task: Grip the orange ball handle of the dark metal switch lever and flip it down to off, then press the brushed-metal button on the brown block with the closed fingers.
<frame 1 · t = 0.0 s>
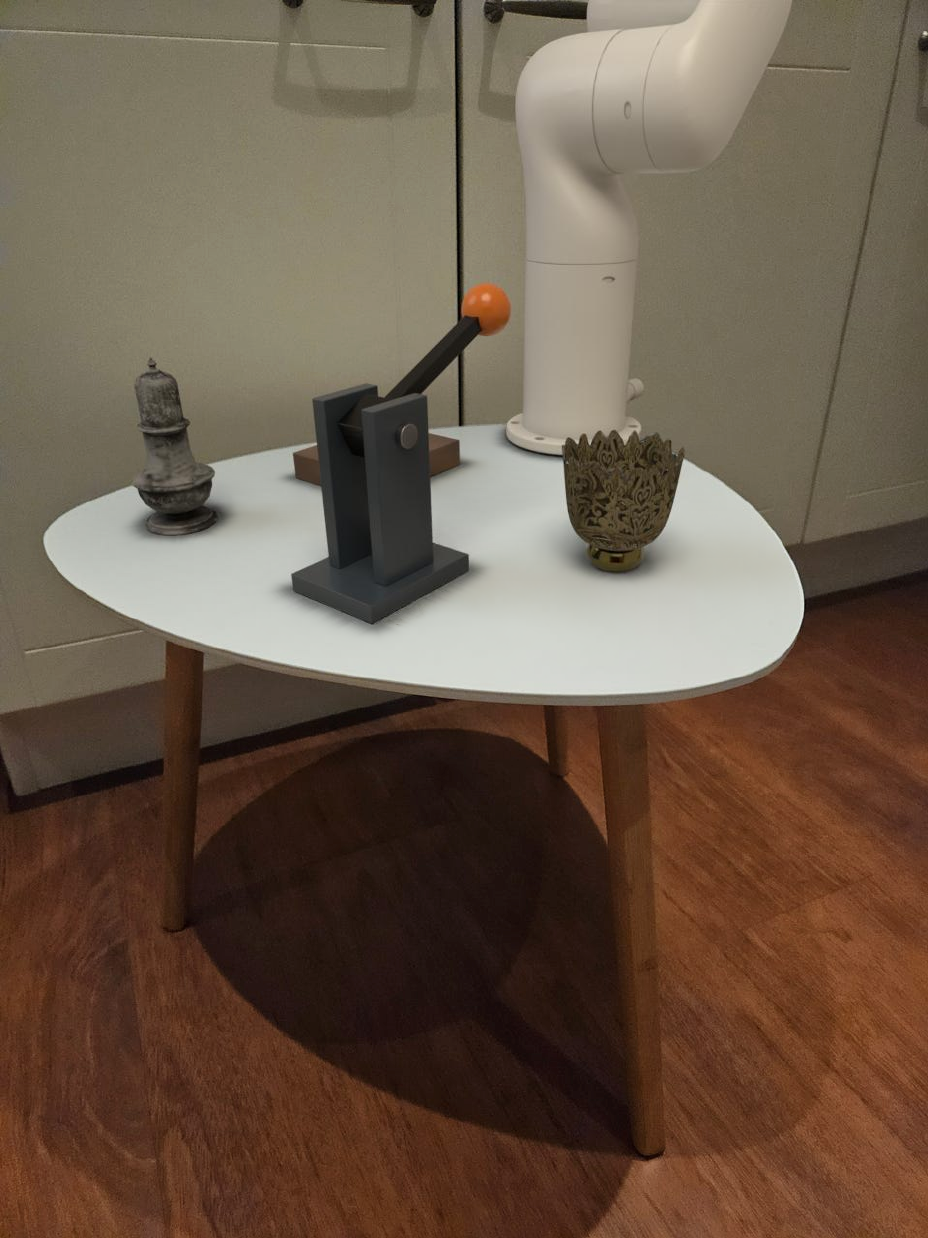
switch bracket: (382, 580, 55), on the table
switch lever: (432, 364, 52), point 13 cm above the table, hinge at 25.0°
cup: (614, 566, 56), on the table
start button: (358, 424, 70), point 5 cm above the table, slide at 0.2 cm
brown block: (379, 471, 73), on the table
salt shaker: (182, 523, 64), on the table
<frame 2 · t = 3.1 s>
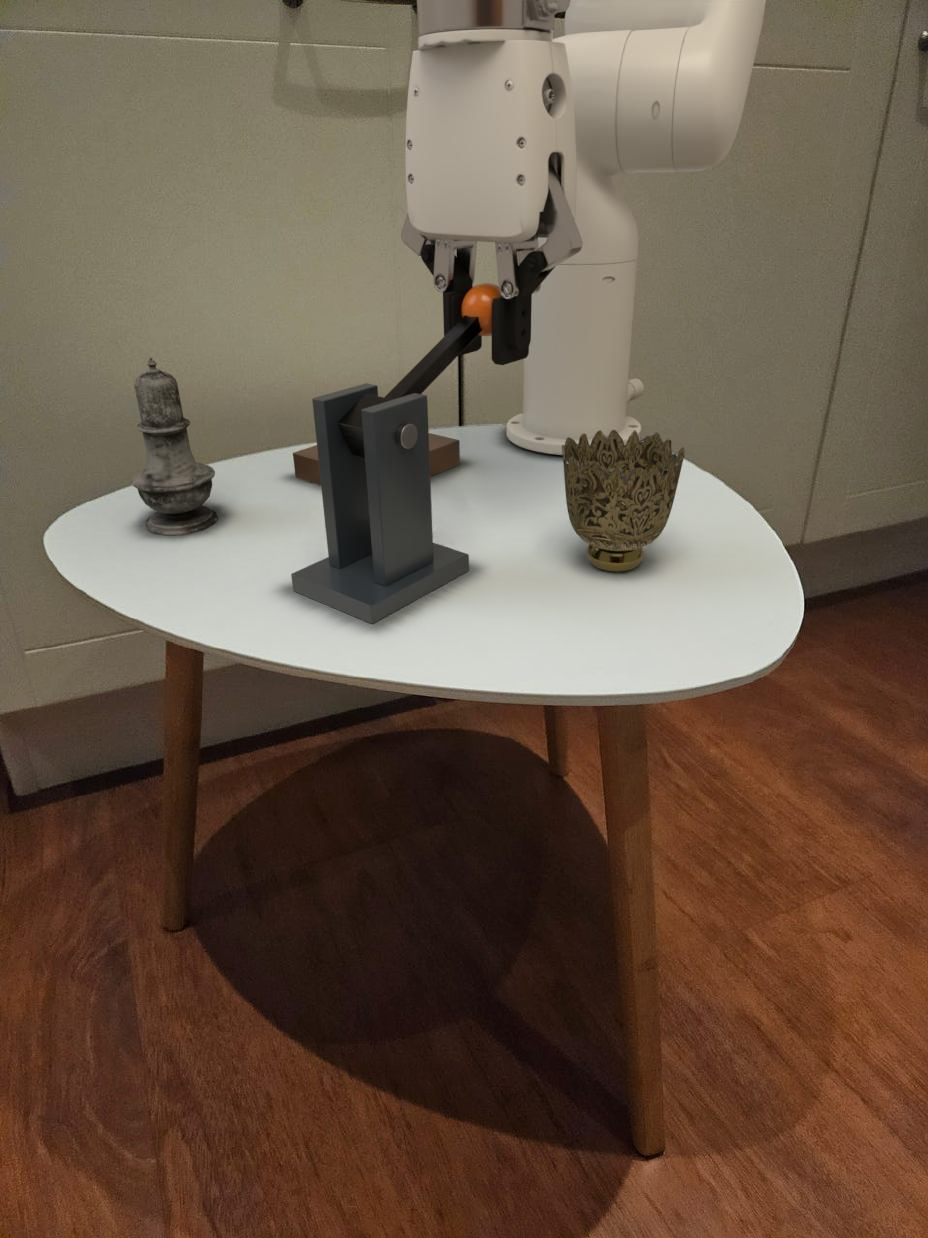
hand: (486, 354, 56), 12 cm above the table, tool pointing down, fingers closed on switch lever, 3 cm apart
switch lever: (432, 364, 52), point 13 cm above the table, hinge at 25.0°, touching gripper
everything else where it was.
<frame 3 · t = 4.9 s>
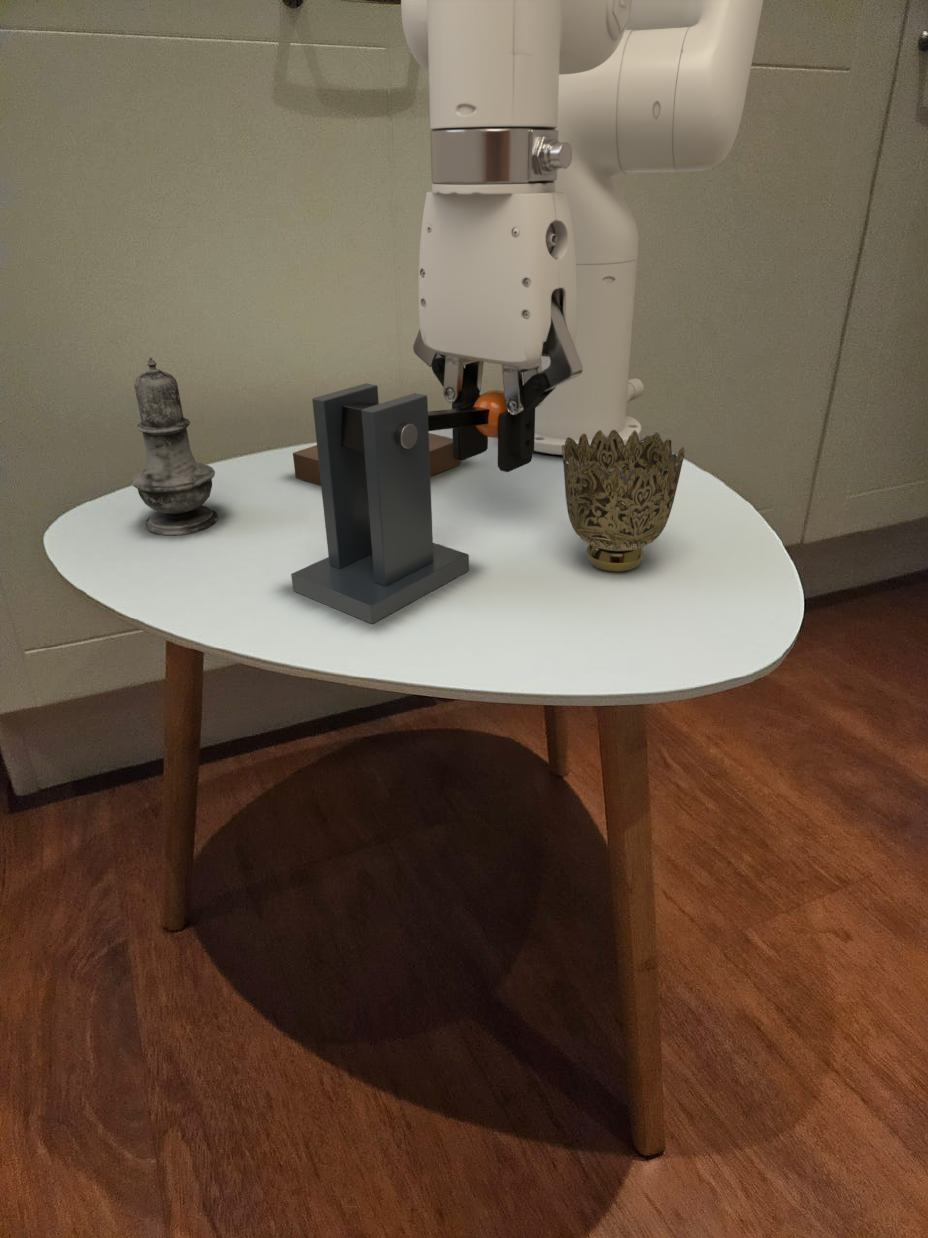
hand: (492, 458, 60), 5 cm above the table, tool pointing down, fingers closed on switch lever, 3 cm apart
switch lever: (439, 419, 54), point 9 cm above the table, hinge at -9.1°, touching gripper
everything else where it was.
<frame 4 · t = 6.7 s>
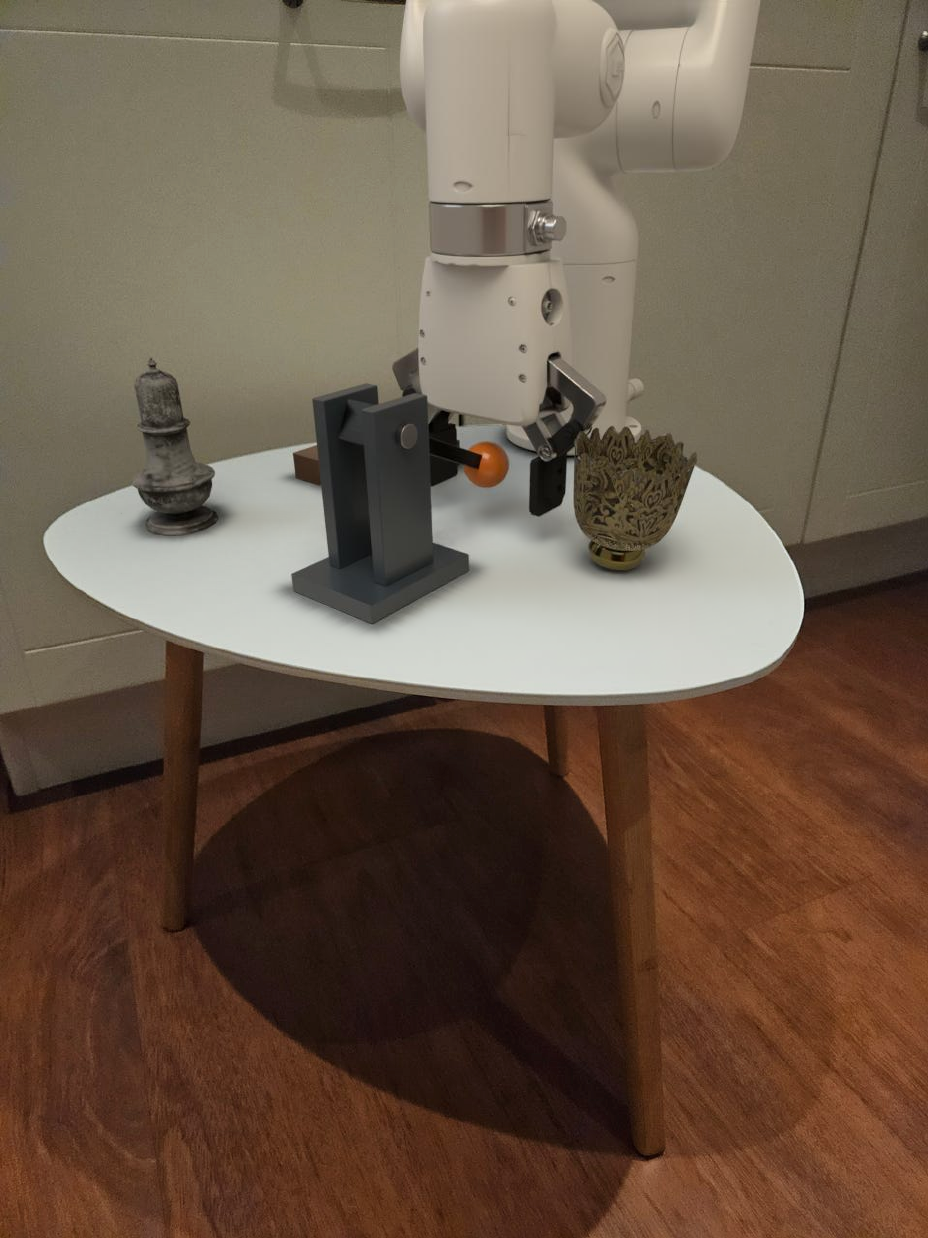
hand: (491, 494, 61), 2 cm above the table, tool pointing down, fingers open, 9 cm apart
switch lever: (435, 447, 55), point 7 cm above the table, hinge at -25.8°
cup: (614, 563, 56), on the table, touching gripper
everything else where it was.
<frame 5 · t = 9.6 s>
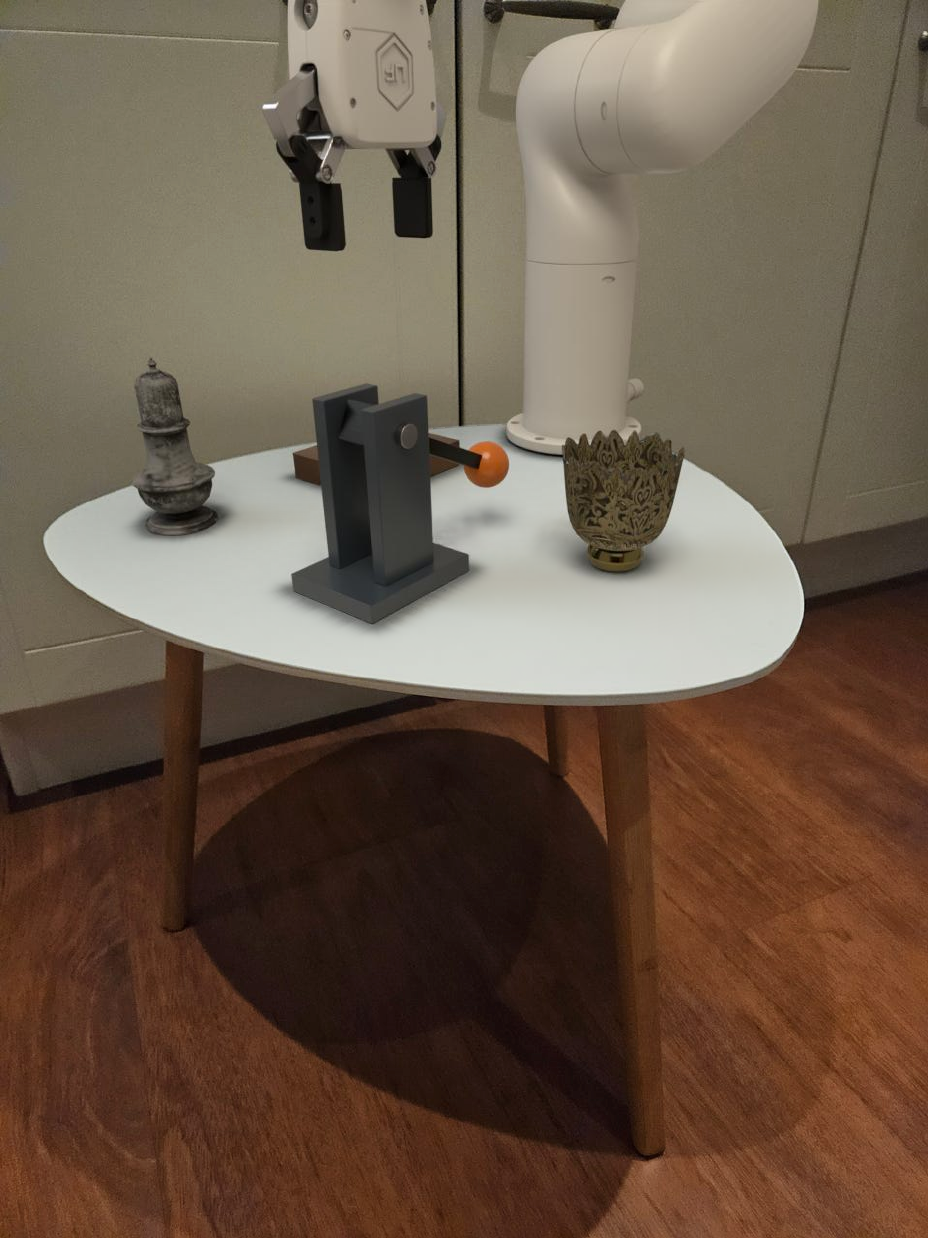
hand: (372, 243, 61), 18 cm above the table, tool pointing down, fingers open, 9 cm apart
cup: (614, 566, 56), on the table
everything else where it was.
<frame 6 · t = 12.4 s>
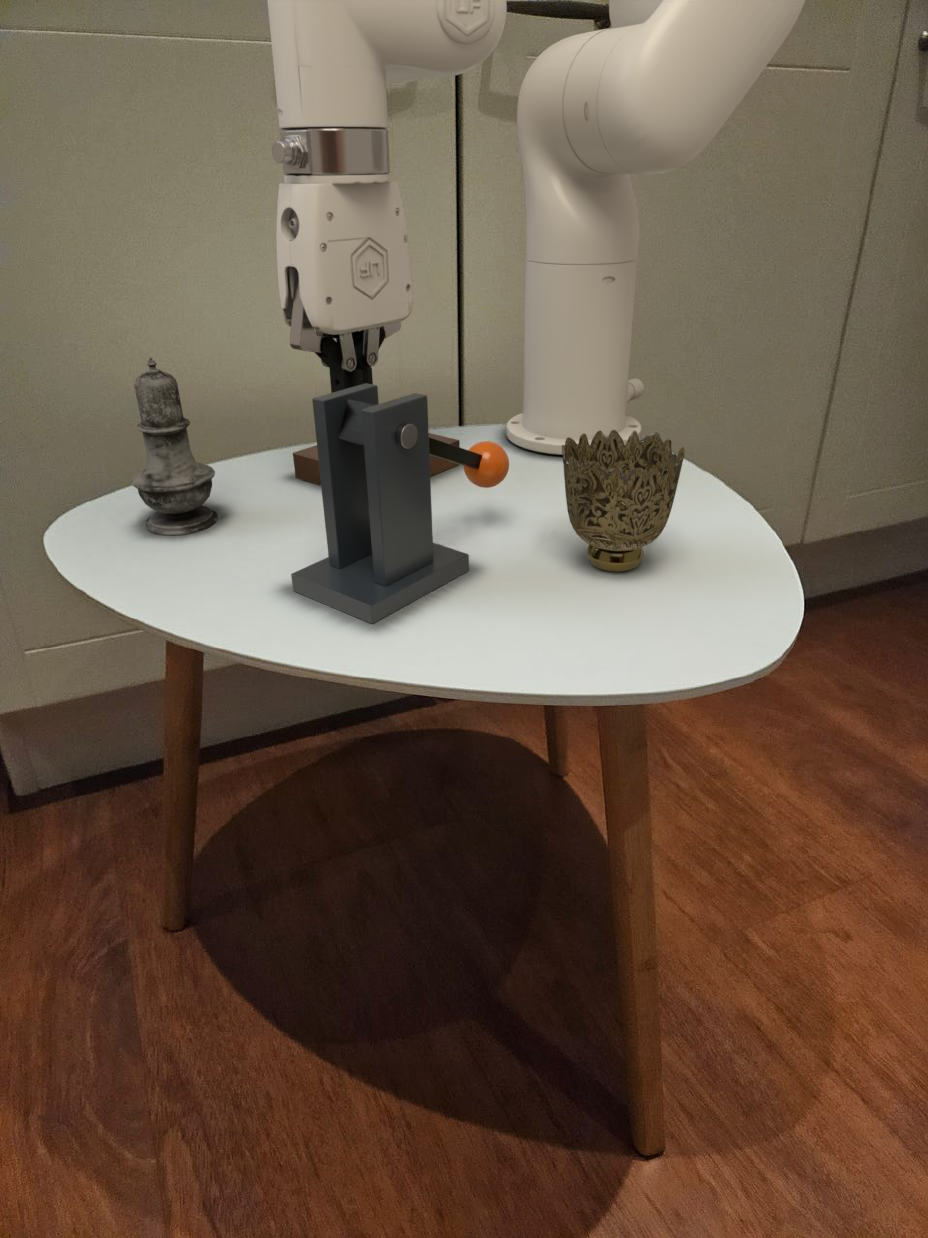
hand: (353, 416, 69), 5 cm above the table, tool pointing down, fingers closed
start button: (358, 426, 70), point 4 cm above the table, slide at 0.0 cm, touching gripper
everything else where it was.
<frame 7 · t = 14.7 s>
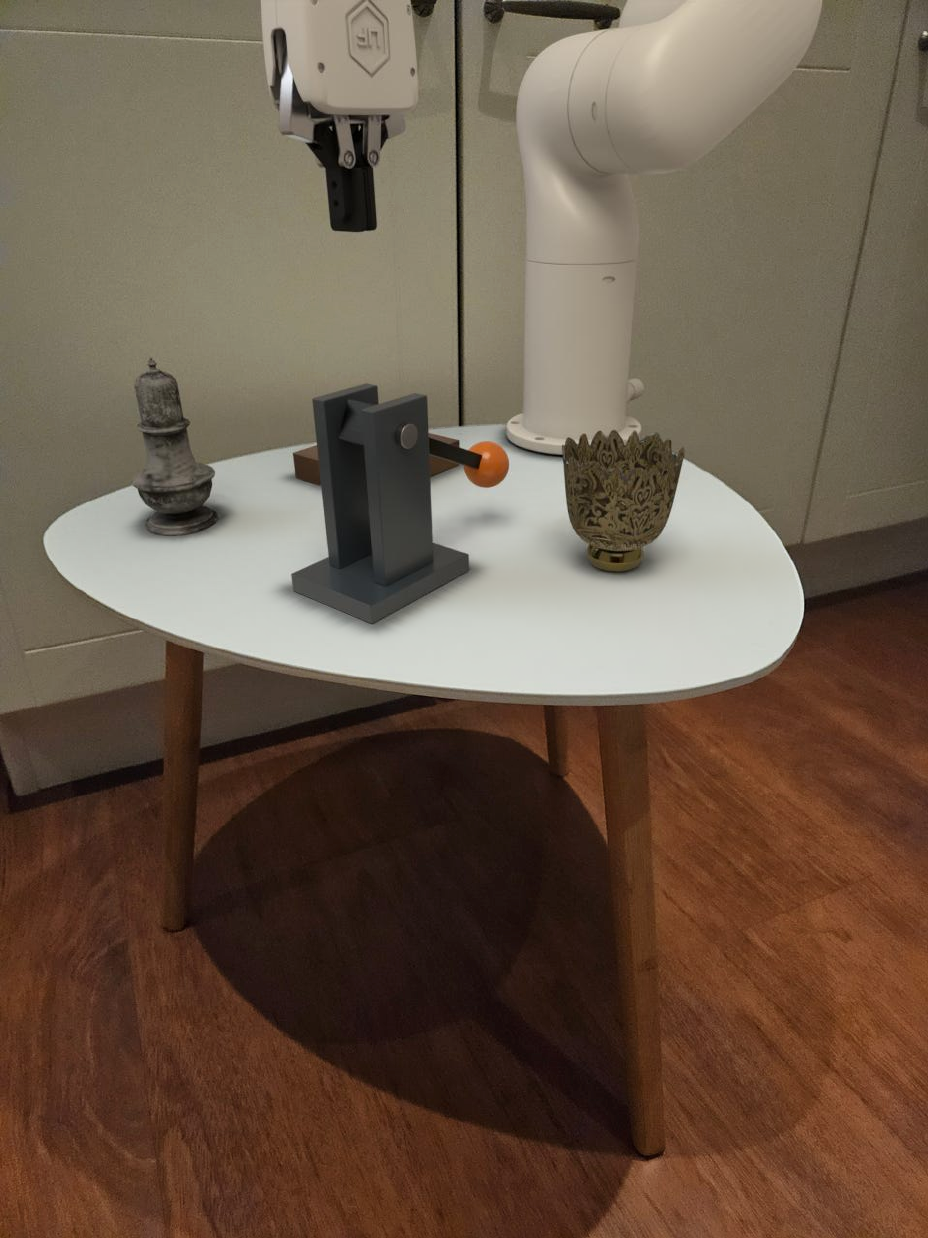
hand: (353, 229, 61), 19 cm above the table, tool pointing down, fingers closed
start button: (358, 424, 70), point 5 cm above the table, slide at 0.2 cm
everything else where it was.
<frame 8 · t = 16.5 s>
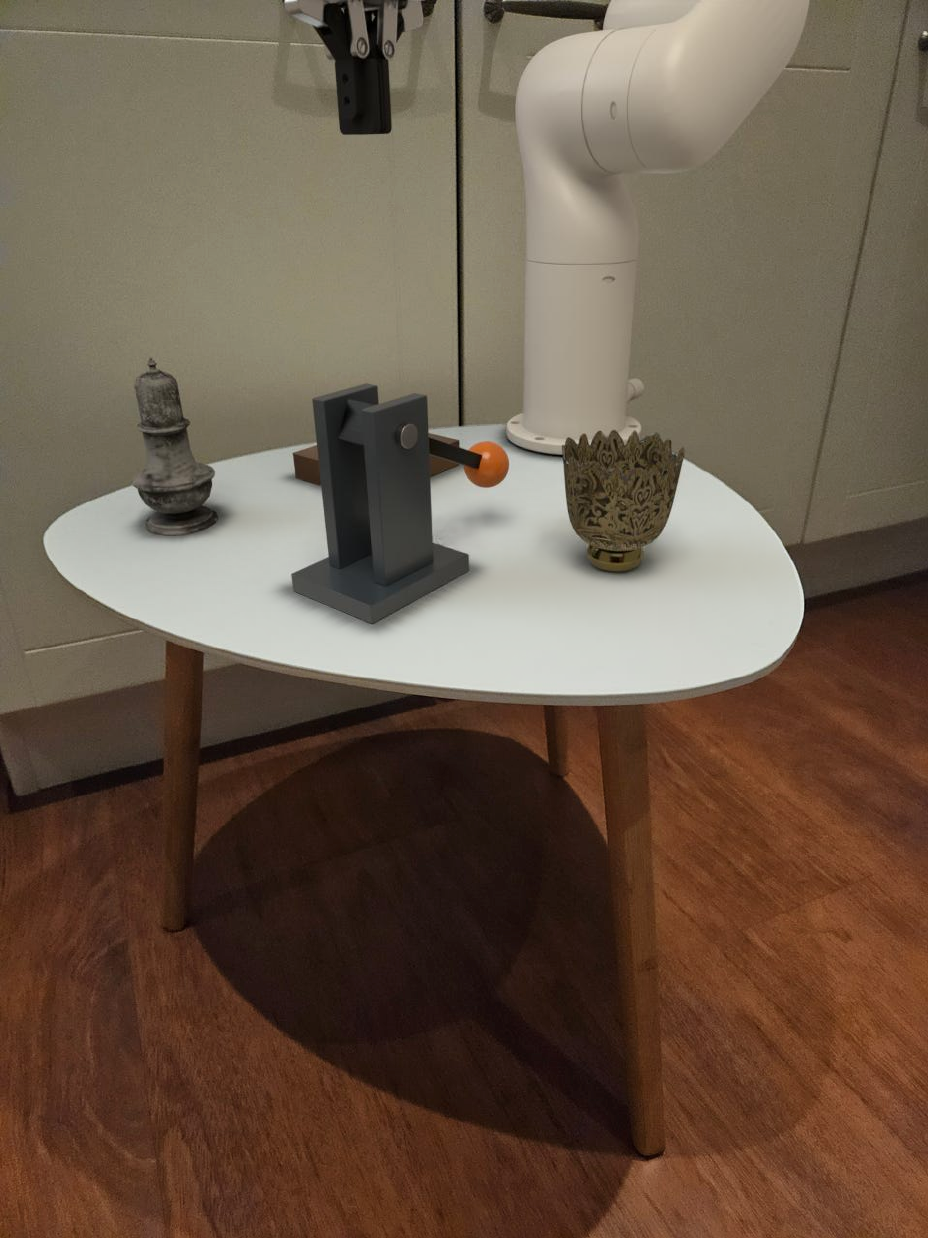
hand: (365, 133, 55), 25 cm above the table, tool pointing down, fingers closed
nothing on the table moved.
at the end: switch lever at -26° (first picture: +25°); start button pushed in 1.0 cm at the most during the clip, back to 0.2 cm at the end; start button slide at 0.2 cm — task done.
